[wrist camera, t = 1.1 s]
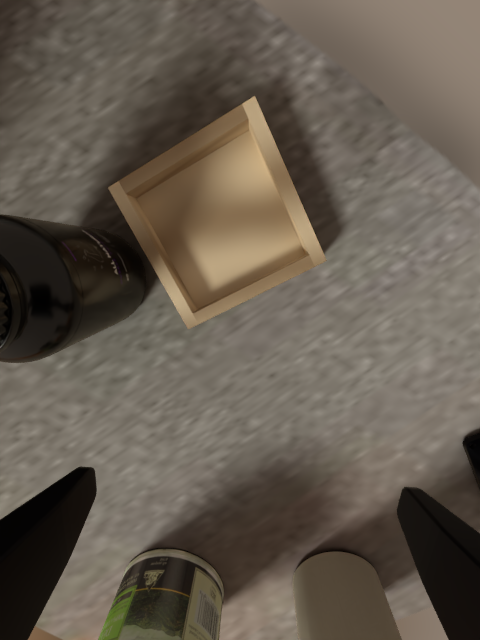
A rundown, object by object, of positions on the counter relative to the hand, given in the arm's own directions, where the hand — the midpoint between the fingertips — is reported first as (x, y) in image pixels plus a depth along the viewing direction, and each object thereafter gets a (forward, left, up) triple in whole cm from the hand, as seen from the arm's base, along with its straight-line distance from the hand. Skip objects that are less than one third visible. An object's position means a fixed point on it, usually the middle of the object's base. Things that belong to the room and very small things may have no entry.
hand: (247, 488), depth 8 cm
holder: (+8, -2, -14) cm, 16 cm away
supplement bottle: (+9, +8, -14) cm, 18 cm away
